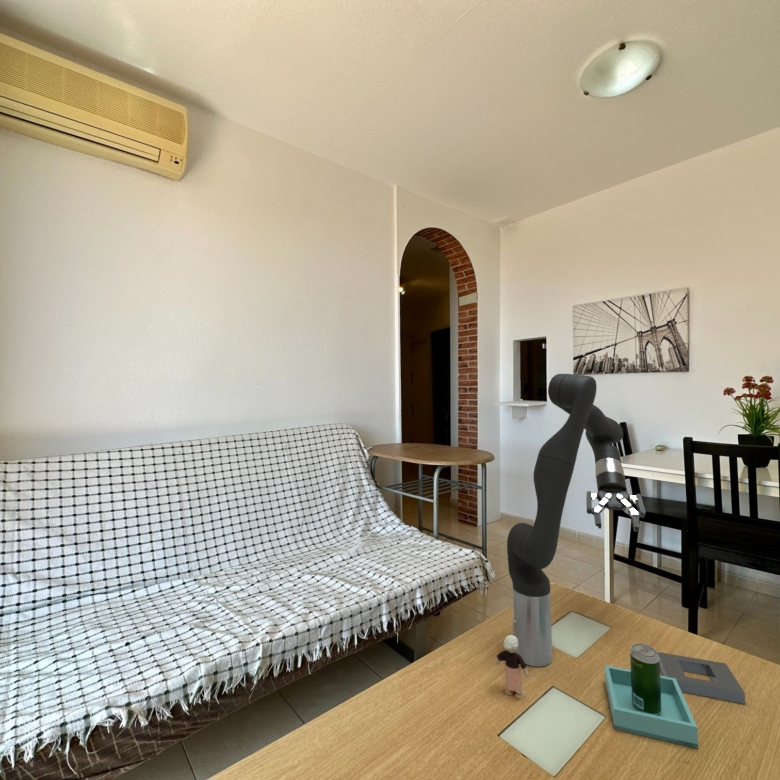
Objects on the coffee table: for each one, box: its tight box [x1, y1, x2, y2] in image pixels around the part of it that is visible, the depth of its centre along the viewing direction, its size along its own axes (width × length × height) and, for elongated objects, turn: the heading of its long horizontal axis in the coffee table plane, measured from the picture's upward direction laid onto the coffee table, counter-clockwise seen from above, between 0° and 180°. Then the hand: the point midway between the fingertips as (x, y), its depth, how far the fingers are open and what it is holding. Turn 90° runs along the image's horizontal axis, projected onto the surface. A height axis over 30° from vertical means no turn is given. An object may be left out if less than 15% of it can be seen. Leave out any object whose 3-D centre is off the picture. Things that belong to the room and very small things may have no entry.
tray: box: [604, 664, 699, 749], centre depth 86 cm, size 14×14×4 cm
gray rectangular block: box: [657, 651, 746, 705], centre depth 95 cm, size 14×10×2 cm
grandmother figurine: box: [494, 634, 530, 700], centre depth 93 cm, size 8×4×13 cm, turn 65°
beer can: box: [629, 643, 661, 716], centre depth 87 cm, size 5×5×12 cm
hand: (617, 528), depth 110 cm, fingers open, 8 cm apart
